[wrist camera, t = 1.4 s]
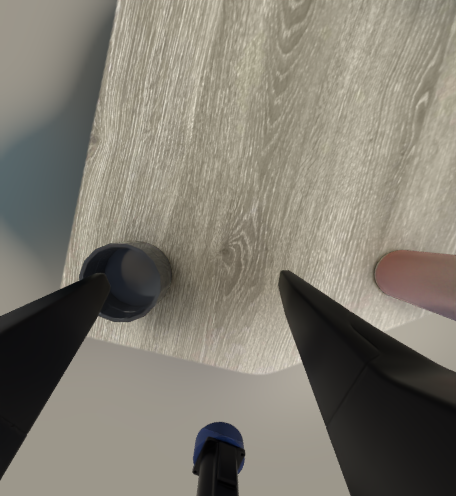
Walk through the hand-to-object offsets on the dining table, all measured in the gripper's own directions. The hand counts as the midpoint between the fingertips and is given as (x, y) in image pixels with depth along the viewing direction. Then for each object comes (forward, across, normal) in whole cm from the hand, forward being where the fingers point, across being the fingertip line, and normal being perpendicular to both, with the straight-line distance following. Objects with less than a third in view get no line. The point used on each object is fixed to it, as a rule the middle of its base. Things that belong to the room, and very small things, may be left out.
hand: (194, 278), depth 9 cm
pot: (+11, +10, +8) cm, 16 cm away
